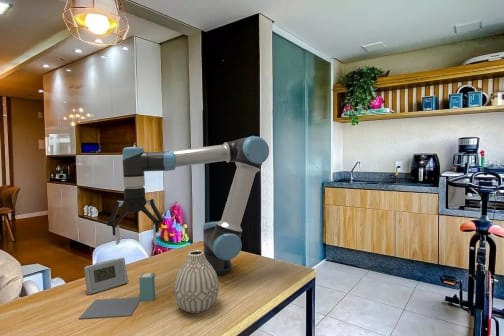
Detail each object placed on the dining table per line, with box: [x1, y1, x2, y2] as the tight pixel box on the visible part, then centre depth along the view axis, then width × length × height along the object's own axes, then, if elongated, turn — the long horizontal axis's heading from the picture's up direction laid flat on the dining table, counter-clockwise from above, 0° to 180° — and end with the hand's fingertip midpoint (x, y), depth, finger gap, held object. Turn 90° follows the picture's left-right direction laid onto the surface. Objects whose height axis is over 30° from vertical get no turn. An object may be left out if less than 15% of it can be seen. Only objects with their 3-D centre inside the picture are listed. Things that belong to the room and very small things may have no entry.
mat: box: [78, 296, 141, 320], centre depth 107 cm, size 17×13×1 cm
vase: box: [173, 249, 220, 314], centre depth 106 cm, size 16×16×20 cm
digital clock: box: [83, 257, 129, 295], centre depth 124 cm, size 16×9×11 cm, turn 123°
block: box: [138, 272, 156, 303], centre depth 114 cm, size 4×4×9 cm
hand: (136, 242), depth 115 cm, fingers open, 13 cm apart
